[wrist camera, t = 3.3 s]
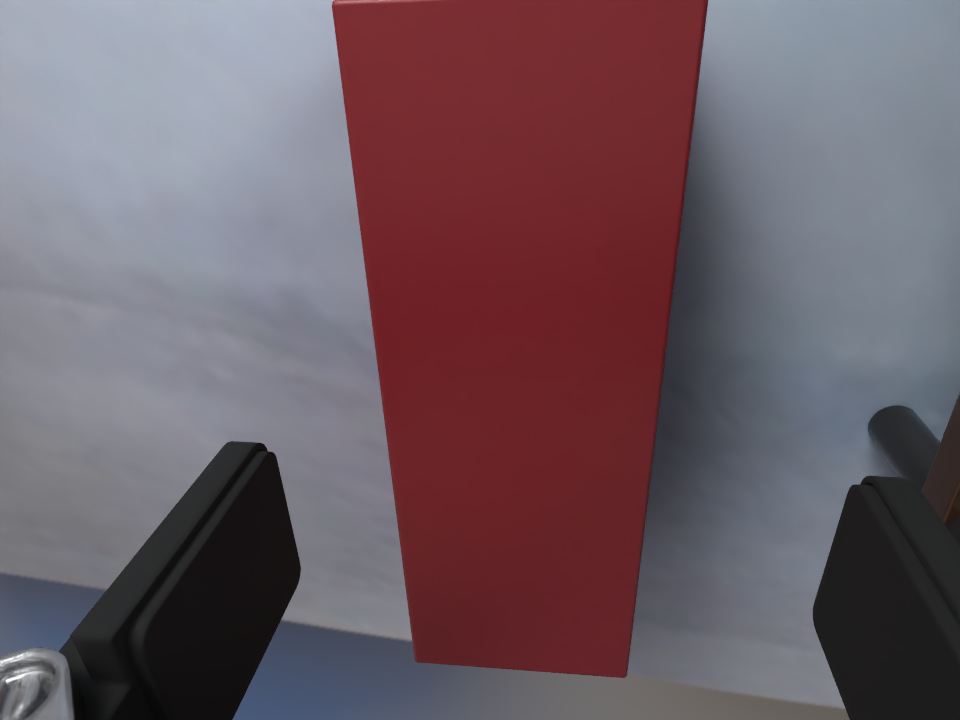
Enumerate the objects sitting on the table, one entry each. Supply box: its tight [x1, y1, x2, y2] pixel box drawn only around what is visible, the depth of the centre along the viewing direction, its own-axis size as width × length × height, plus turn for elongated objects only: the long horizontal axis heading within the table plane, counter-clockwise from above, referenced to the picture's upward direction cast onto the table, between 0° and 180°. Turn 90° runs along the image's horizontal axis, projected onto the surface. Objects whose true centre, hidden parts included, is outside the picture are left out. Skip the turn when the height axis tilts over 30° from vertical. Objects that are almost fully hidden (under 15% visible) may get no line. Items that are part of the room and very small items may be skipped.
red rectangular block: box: [332, 0, 708, 678], centre depth 15 cm, size 5×15×5 cm, turn 2°
